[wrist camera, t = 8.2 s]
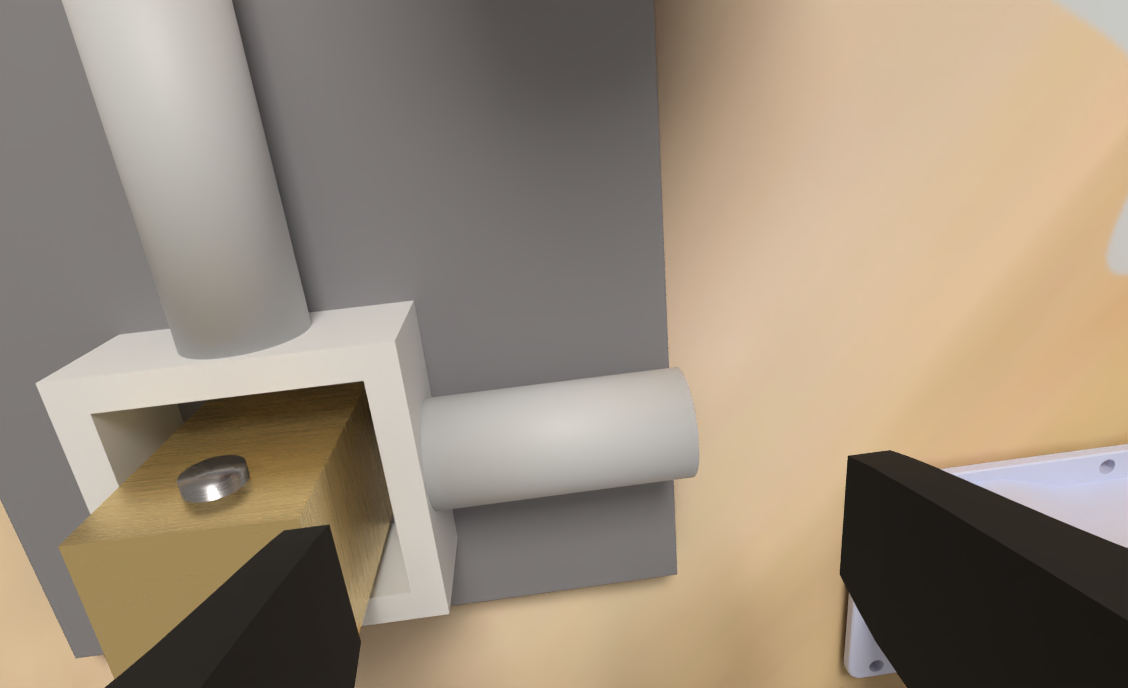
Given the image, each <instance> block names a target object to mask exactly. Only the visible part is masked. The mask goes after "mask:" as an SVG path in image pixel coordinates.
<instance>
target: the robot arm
mask: <svg viewBox="0 0 1128 688" xmlns="http://www.w3.org/2000/svg"><path fill="white" fill-rule="evenodd" d="M840 576H841V578H842V580H843V582H844V584H845V586H846V587H847V589H848V591H849V600H848V613H847V626H846V640H845V653H844V666H845V668H846V669H847V671H848V673H849V674H850V675H851V676H853V677H855V678H864V677H870V676H877V675H884V674H890V673H897V674H898V675H899V677H900V678H901V679H902V681H903V682H904V684H905V685H906V687H907V688H1128V444H1123V445H1116V446H1108V447H1101V448H1094V449H1086V450H1079V451H1071V452H1064V453H1056V454H1049V455H1041V456H1034V457H1026V458H1019V459H1011V460H1004V461H997V462H989V463H982V464H974V465H967V466H959V467H952V468H944V469H938V468H936V467H934V466H931V465H929V464H926V463H924V462H921V461H919V460H916V459H914V458H911V457H908V456H906V455H903V454H900V453H897V452H894V451H891V450H889V451H881V452H873V453H866V454H858V455H851V456H848V461H847V476H846V490H845V505H844V519H843V534H842V548H841V563H840ZM360 645H361V640H360V637H359V633H358V629H357V626H356V622H355V618H354V614H353V611H352V607H351V603H350V599H349V596H348V592H347V588H346V584H345V581H344V577H343V573H342V569H341V566H340V562H339V558H338V554H337V551H336V547H335V543H334V539H333V536H332V532H331V528H330V524H328V525H321V526H313V527H305V528H298V529H290V530H284V531H282V532H281V533H280V534H279V535H277V536H276V537H275V538H274V539H272V540H271V541H270V542H269V543H268V544H267V545H265V546H264V547H263V548H262V549H261V550H260V551H259V552H257V553H256V554H255V555H254V556H253V557H252V558H251V559H250V560H249V561H247V562H246V563H245V564H244V565H243V566H242V567H241V568H240V569H239V570H238V571H236V572H235V573H234V574H233V575H232V576H231V577H230V578H229V579H228V580H227V581H226V582H224V583H223V584H222V585H221V586H220V587H219V588H218V589H217V590H216V591H215V592H214V593H212V594H211V595H210V596H209V597H208V598H207V599H206V600H205V601H204V602H202V603H201V604H200V605H199V606H198V607H197V608H196V609H195V610H194V611H192V612H191V613H190V614H189V615H188V616H187V617H186V618H185V619H184V620H182V621H181V622H180V623H179V624H178V625H177V626H176V627H175V628H174V629H173V630H171V631H170V632H169V633H168V634H167V635H166V636H165V637H164V638H163V639H161V640H160V641H159V642H158V643H157V644H156V645H155V646H154V647H152V648H151V649H150V650H149V651H148V652H147V653H145V654H144V655H143V656H142V657H141V658H139V659H138V660H137V661H136V662H135V663H134V664H132V665H131V666H130V667H129V668H128V669H126V670H125V671H124V672H123V673H122V674H120V675H119V676H118V677H117V678H116V679H115V680H113V681H112V682H111V683H110V684H109V685H107V686H106V687H105V688H354V686H355V679H356V672H357V665H358V658H359V651H360Z"/></svg>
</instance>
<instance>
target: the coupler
mask: <svg viewBox="0 0 1128 688" xmlns="http://www.w3.org/2000/svg"><path fill="white" fill-rule="evenodd" d="M392 514H393V510H392V505H391V501H390V496H389V492H388V487H387V483H386V478H385V474H384V469H383V465H382V460H381V456H380V451H379V447H378V443H377V438H376V434H375V429H374V425H373V420H372V416H371V411H370V407H369V402H368V398H367V393H366V389H365V384H364V382H355V383H346V384H336V385H327V386H317V387H309V388H300V389H292V390H284V391H276V392H267V393H259V394H251V395H243V396H234V397H226V398H218V399H210V400H207V401H206V402H205V403H204V404H203V405H202V406H201V407H200V408H199V409H198V410H197V411H196V412H195V413H194V414H193V415H192V416H191V417H190V418H189V419H188V420H187V421H186V422H185V423H184V424H183V425H182V426H181V427H180V428H179V429H178V430H177V431H176V432H174V433H173V434H172V435H171V436H170V437H169V438H168V439H167V440H166V441H165V442H164V443H163V444H162V445H161V446H160V447H159V448H158V449H157V450H156V451H155V452H154V453H153V454H152V455H151V456H150V457H149V458H148V459H147V460H146V461H145V462H144V463H143V464H142V465H141V466H140V467H139V468H138V469H137V470H136V471H135V472H134V473H133V474H132V475H131V476H130V477H129V478H128V479H126V480H125V481H124V482H123V483H122V484H121V485H120V486H119V487H118V488H117V489H116V490H115V491H114V492H113V493H112V494H111V495H110V496H109V497H108V498H107V499H106V500H105V501H104V502H103V503H102V504H101V505H100V506H99V507H98V508H97V509H96V510H95V511H94V512H93V513H92V514H91V515H90V516H89V517H88V518H87V519H86V520H85V521H84V522H83V523H82V524H81V525H80V526H79V527H77V528H76V529H75V530H74V531H73V532H72V533H71V534H70V535H69V536H68V537H67V538H66V539H65V540H64V541H63V542H62V543H61V544H60V545H59V546H58V548H59V550H60V552H61V555H62V557H63V559H64V562H65V564H66V566H67V569H68V571H69V573H70V576H71V578H72V580H73V583H74V585H75V587H76V590H77V592H78V594H79V597H80V599H81V601H82V604H83V606H84V608H85V611H86V613H87V616H88V618H89V620H90V623H91V625H92V627H93V630H94V632H95V634H96V637H97V639H98V641H99V644H100V646H101V648H102V651H103V653H104V655H105V658H106V660H107V662H108V665H109V667H110V669H111V672H112V674H113V676H114V679H116V678H117V677H118V676H119V675H120V674H122V673H123V672H124V671H125V670H126V669H128V668H129V667H130V666H131V665H132V664H134V663H135V662H136V661H137V660H138V659H139V658H141V657H142V656H143V655H144V654H145V653H147V652H148V651H149V650H150V649H151V648H152V647H154V646H155V645H156V644H157V643H158V642H159V641H160V640H161V639H163V638H164V637H165V636H166V635H167V634H168V633H169V632H170V631H171V630H173V629H174V628H175V627H176V626H177V625H178V624H179V623H180V622H181V621H182V620H184V619H185V618H186V617H187V616H188V615H189V614H190V613H191V612H192V611H194V610H195V609H196V608H197V607H198V606H199V605H200V604H201V603H202V602H204V601H205V600H206V599H207V598H208V597H209V596H210V595H211V594H212V593H214V592H215V591H216V590H217V589H218V588H219V587H220V586H221V585H222V584H223V583H224V582H226V581H227V580H228V579H229V578H230V577H231V576H232V575H233V574H234V573H235V572H236V571H238V570H239V569H240V568H241V567H242V566H243V565H244V564H245V563H246V562H247V561H249V560H250V559H251V558H252V557H253V556H254V555H255V554H256V553H257V552H259V551H260V550H261V549H262V548H263V547H264V546H265V545H267V544H268V543H269V542H270V541H271V540H272V539H274V538H275V537H276V536H277V535H279V534H280V533H281V532H282V531H284V530H290V529H298V528H305V527H313V526H321V525H328V524H330V528H331V532H332V536H333V539H334V543H335V547H336V551H337V554H338V558H339V562H340V566H341V569H342V573H343V577H344V581H345V584H346V588H347V592H348V596H349V599H350V603H351V607H352V611H353V614H354V618H355V622H356V626H357V629H358V633H359V634H360V630H361V626H362V623H363V619H364V615H365V612H366V608H367V605H368V601H369V597H370V594H371V590H372V586H373V583H374V579H375V576H376V572H377V568H378V565H379V561H380V557H381V554H382V550H383V547H384V543H385V539H386V536H387V532H388V528H389V525H390V521H391V517H392Z"/></svg>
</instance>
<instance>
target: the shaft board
mask: <svg viewBox="0 0 1128 688" xmlns="http://www.w3.org/2000/svg"><path fill="white" fill-rule="evenodd" d="M355 382H364V384H365V389H366V393H367V398H368V402H369V407H370V411H371V416H372V420H373V425H374V429H375V434H376V438H377V443H378V447H379V451H380V456H381V460H382V465H383V469H384V474H385V478H386V483H387V487H388V492H389V496H390V501H391V505H392V510H393V514H392V517H391V521H390V525H389V528H388V532H387V536H386V539H385V543H384V547H383V550H382V554H381V557H380V561H379V565H378V568H377V572H376V576H375V579H374V583H373V586H372V590H371V594H370V597H369V601H368V605H367V608H366V612H365V615H364V619H363V623H362V626H367V625H374V624H382V623H389V622H396V621H403V620H410V619H417V618H424V617H432V616H439V615H446V614H450V606H454V605H461V604H468V603H475V602H482V601H490V600H497V599H504V598H511V597H518V596H525V595H533V594H540V593H547V592H554V591H561V590H568V589H576V588H583V587H590V586H597V585H604V584H611V583H619V582H626V581H633V580H640V579H647V578H654V577H662V576H669V575H676V574H677V555H676V530H675V506H674V481H673V480H675V479H683V478H691V477H694V476H695V475H696V474H697V471H698V465H699V437H698V428H697V421H696V414H695V409H694V404H693V400H692V396H691V393H690V389H689V386H688V383H687V381H686V378H685V376H684V374H683V372H682V371H681V370H680V369H679V368H678V367H673V368H669V359H668V334H667V310H666V285H665V261H664V236H663V212H662V187H661V163H660V138H659V114H658V89H657V65H656V40H655V16H654V0H0V500H1V502H2V504H3V506H4V508H5V510H6V512H7V515H8V517H9V519H10V521H11V523H12V525H13V527H14V529H15V531H16V533H17V536H18V538H19V540H20V542H21V544H22V546H23V548H24V550H25V552H26V555H27V557H28V559H29V561H30V563H31V565H32V567H33V569H34V571H35V574H36V576H37V578H38V580H39V582H40V584H41V586H42V588H43V590H44V592H45V595H46V597H47V599H48V601H49V603H50V605H51V607H52V609H53V611H54V614H55V616H56V618H57V620H58V622H59V624H60V626H61V628H62V630H63V633H64V635H65V637H66V639H67V641H68V643H69V645H70V647H71V649H72V651H73V654H74V656H75V658H81V657H89V656H96V655H103V654H104V653H103V651H102V648H101V646H100V644H99V641H98V639H97V637H96V634H95V632H94V630H93V627H92V625H91V623H90V620H89V618H88V616H87V613H86V611H85V608H84V606H83V604H82V601H81V599H80V597H79V594H78V592H77V590H76V587H75V585H74V583H73V580H72V578H71V576H70V573H69V571H68V569H67V566H66V564H65V562H64V559H63V557H62V555H61V552H60V550H59V548H58V546H59V545H60V544H61V543H62V542H63V541H64V540H65V539H66V538H67V537H68V536H69V535H70V534H71V533H72V532H73V531H74V530H75V529H76V528H77V527H79V526H80V525H81V524H82V523H83V522H84V521H85V520H86V519H87V518H88V517H89V516H90V515H91V514H92V513H93V512H94V511H95V510H96V509H97V508H98V507H99V506H100V505H101V504H102V503H103V502H104V501H105V500H106V499H107V498H108V497H109V496H110V495H111V494H112V493H113V492H114V491H115V490H116V489H117V488H118V487H119V486H120V485H121V484H122V483H123V482H124V481H125V480H126V479H128V478H129V477H130V476H131V475H132V474H133V473H134V472H135V471H136V470H137V469H138V468H139V467H140V466H141V465H142V464H143V463H144V462H145V461H146V460H147V459H148V458H149V457H150V456H151V455H152V454H153V453H154V452H155V451H156V450H157V449H158V448H159V447H160V446H161V445H162V444H163V443H164V442H165V441H166V440H167V439H168V438H169V437H170V436H171V435H172V434H173V433H174V432H176V431H177V430H178V429H179V428H180V427H181V426H182V425H183V424H184V423H185V422H186V421H187V420H188V419H189V418H190V417H191V416H192V415H193V414H194V413H195V412H196V411H197V410H198V409H199V408H200V407H201V406H202V405H203V404H204V403H205V402H206V401H207V400H210V399H218V398H226V397H234V396H243V395H251V394H259V393H267V392H276V391H284V390H292V389H300V388H309V387H317V386H327V385H336V384H346V383H355Z"/></svg>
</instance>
